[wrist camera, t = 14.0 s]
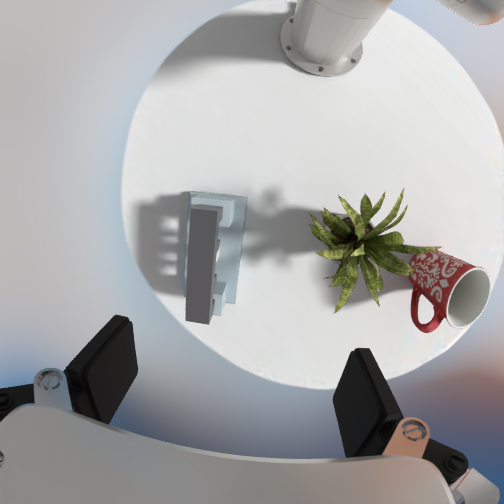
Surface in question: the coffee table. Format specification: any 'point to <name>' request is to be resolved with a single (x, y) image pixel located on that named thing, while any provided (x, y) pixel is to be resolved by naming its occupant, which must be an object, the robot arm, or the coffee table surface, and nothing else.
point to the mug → (448, 289)
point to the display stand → (223, 244)
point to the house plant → (363, 246)
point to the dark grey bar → (202, 262)
